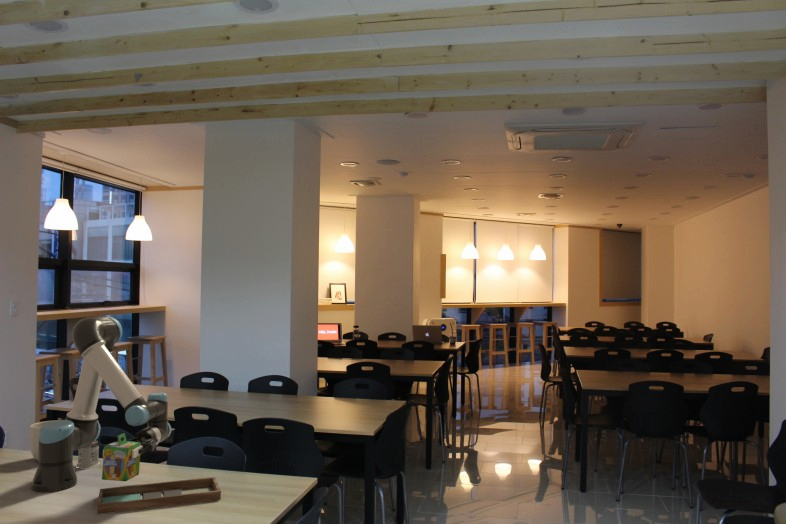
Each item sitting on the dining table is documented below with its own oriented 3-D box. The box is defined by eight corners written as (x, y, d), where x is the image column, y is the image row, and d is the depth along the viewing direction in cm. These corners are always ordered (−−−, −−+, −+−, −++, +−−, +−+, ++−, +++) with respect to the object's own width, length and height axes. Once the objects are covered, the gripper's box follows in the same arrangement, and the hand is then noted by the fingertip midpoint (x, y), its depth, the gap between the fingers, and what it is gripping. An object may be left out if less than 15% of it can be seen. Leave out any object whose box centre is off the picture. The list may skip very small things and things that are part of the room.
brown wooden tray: (99, 497, 216) (100, 488, 217) (214, 484, 232) (214, 476, 232) (96, 514, 200) (97, 505, 200) (220, 499, 216) (220, 490, 216)
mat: (102, 498, 215) (102, 497, 215) (140, 494, 220) (140, 493, 220) (100, 511, 202) (100, 510, 202) (140, 507, 207) (140, 505, 207)
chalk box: (125, 482, 205) (129, 438, 206) (100, 480, 206) (104, 436, 207) (140, 474, 214) (143, 432, 215) (116, 472, 215) (119, 430, 216)
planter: (52, 452, 276) (54, 418, 276) (81, 456, 270) (82, 421, 271) (18, 462, 260) (20, 426, 261) (48, 466, 254) (49, 429, 255)
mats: (143, 494, 220) (143, 492, 220) (180, 490, 225) (180, 488, 225) (143, 506, 207) (143, 505, 207) (183, 502, 213) (183, 500, 213)
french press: (71, 469, 250) (74, 408, 251) (80, 461, 261) (82, 403, 263) (97, 468, 252) (99, 408, 253) (104, 460, 263) (106, 403, 264)
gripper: (175, 448, 229) (149, 465, 207) (118, 448, 230) (86, 464, 208) (175, 429, 230) (150, 443, 208) (118, 428, 231) (87, 442, 208)
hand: (118, 454), depth 208 cm, fingers closed on chalk box, 10 cm apart
